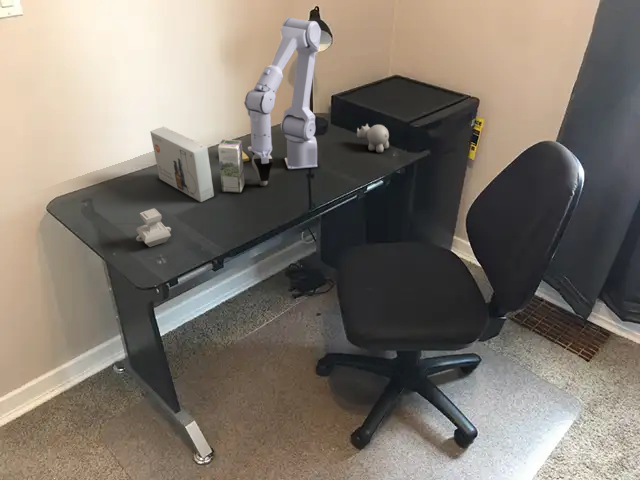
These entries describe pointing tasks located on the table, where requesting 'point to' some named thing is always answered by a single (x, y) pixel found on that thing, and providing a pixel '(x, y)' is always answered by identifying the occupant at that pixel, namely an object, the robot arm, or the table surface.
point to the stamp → (152, 228)
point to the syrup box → (231, 165)
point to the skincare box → (183, 163)
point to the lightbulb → (258, 171)
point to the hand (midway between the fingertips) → (263, 175)
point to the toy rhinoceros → (375, 137)
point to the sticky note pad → (245, 157)
